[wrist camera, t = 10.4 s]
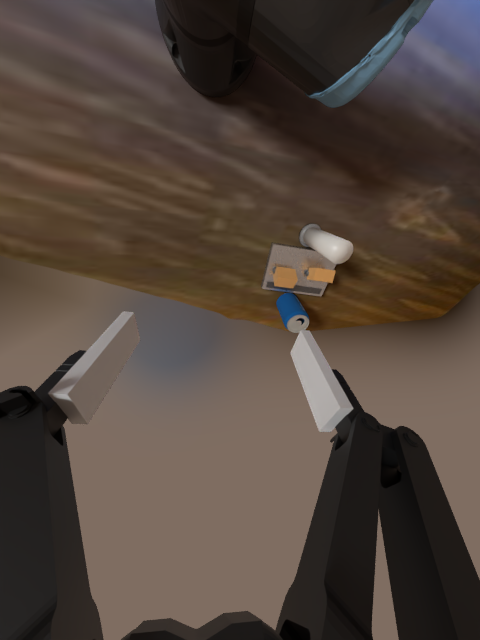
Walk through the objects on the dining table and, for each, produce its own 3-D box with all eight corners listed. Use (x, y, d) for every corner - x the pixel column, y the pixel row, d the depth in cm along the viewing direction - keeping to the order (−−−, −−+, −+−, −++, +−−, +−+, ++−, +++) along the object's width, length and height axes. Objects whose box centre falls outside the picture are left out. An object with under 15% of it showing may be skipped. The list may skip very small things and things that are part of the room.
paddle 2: (307, 267, 48) (315, 267, 43) (326, 270, 48) (336, 270, 44) (304, 279, 49) (312, 280, 44) (323, 281, 49) (333, 283, 45)
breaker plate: (271, 242, 45) (273, 244, 43) (337, 252, 47) (341, 255, 46) (261, 285, 52) (262, 289, 50) (318, 293, 54) (321, 296, 52)
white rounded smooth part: (303, 221, 43) (334, 234, 30) (323, 225, 44) (362, 239, 30) (296, 244, 46) (321, 264, 33) (315, 247, 46) (347, 269, 33)
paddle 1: (275, 264, 46) (277, 277, 43) (295, 267, 47) (298, 280, 44) (271, 273, 48) (273, 285, 46) (291, 276, 49) (294, 288, 46)
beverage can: (301, 299, 55) (316, 322, 46) (285, 313, 58) (296, 337, 48) (287, 287, 53) (299, 309, 43) (271, 302, 56) (280, 326, 46)
